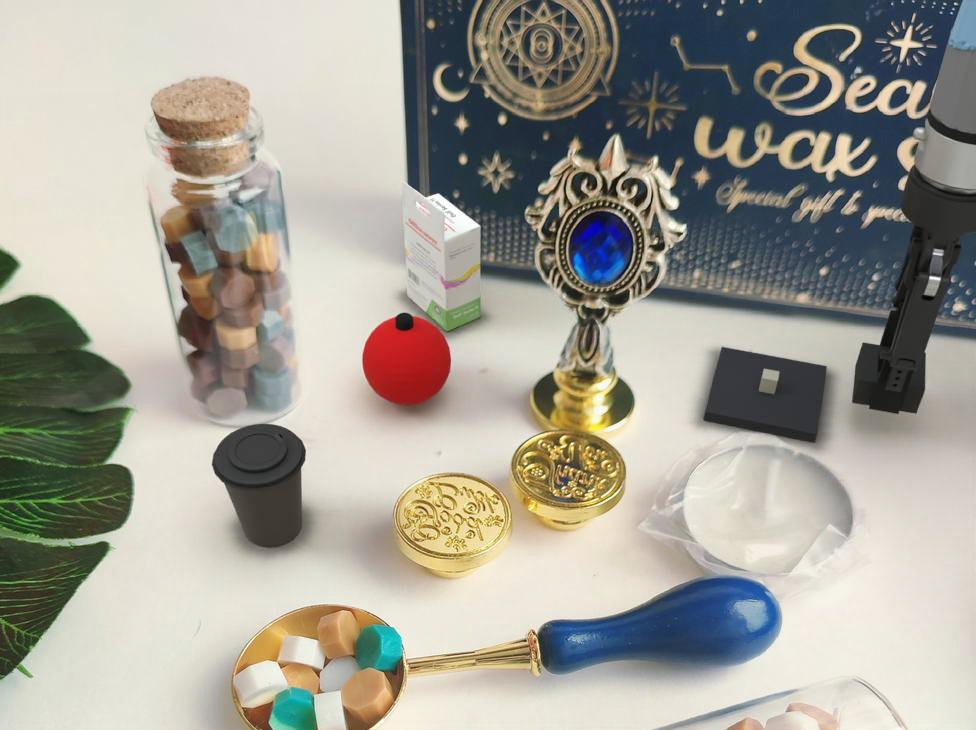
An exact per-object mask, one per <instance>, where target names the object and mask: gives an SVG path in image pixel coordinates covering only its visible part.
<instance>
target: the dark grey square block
mask: <svg viewBox="0 0 976 730" xmlns="http://www.w3.org/2000/svg"><path fill="white" fill-rule="evenodd" d="M879 345H880V344H876V343H871V342H870V343H869V342H862V343H861V345H860V349H859V353H858V356H857V360H856V363H855V366H854V377H853V386H852V387H853V388H852V400H851V403H852V404H854V405H855V404H856V405H862V406H866V407H867V406H868V407H869V405H870V401H871V398H872V395H873V392H874V389H875V386H876V383H877V380H878V377H879V374H880V371H881V368H882V365H883V362H884V359H880V354H881V350H885V351H890V349H891V347H885V346H879ZM926 360H927V353H926V352H925V353H924V355H923V358H922V361H921V362H922V364H921V367H920V368H919V370H918V371H913V374H912V377H911V380H910V383H909V385H908V388H907V391H906V394H905V397H904V399H903V402H902V405H901V408H900V411H899V412H903V413H908V414H914V415H916V414H917V413H918V410H919V408H920V406H921V403H922V401H923V397H924V395H925V392H926V369H927V367H926V365H927V363H926V362H927V361H926Z"/></svg>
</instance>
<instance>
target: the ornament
mask: <svg viewBox="0 0 976 730" xmlns="http://www.w3.org/2000/svg"><path fill="white" fill-rule="evenodd" d="M450 348H451V347H450V346H449V344H448V340H447V339H446V337H445V335H444V334H443V333H442V331H441V330H440V329H439V328H438V327H437V326H436V325H434V324H433V323H432V322H430V321H429V320H427V319H425V318H422V317H419V316H414V315H412V314H411V313H409V312H400V313H398V314H397V315H396V316H394V317H391V318H388V319H386V320H384V321H382V322H381V323H379V325H377V326H376V327H375V328H374V329H373V330H372V331H371V333H369V336H368V338H367V339H366V341H365V343H364V347H363V350H362V357H361V358H362V360H361V362H362V370H363V374H364V376H365V379H366V382H368V385H369V386H370V387H371V389H372V390H373V391H374V392H375V393H376V394H377V395H378V396H379V397H380V398H382V399H383V400H386V401H388V402H389V403H392V404H395V405H400V406H414V405H419V404H422V403H425V402H427V401H428V400H430V399H432V398H433V397H435V396H436V395H437V394H438V393H439V392H440V391H441V390H442V388H443V387H444V386H445V384H446V382H447V380H448V378H449V375H450V373H451V367H452V356H451V349H450Z"/></svg>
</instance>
